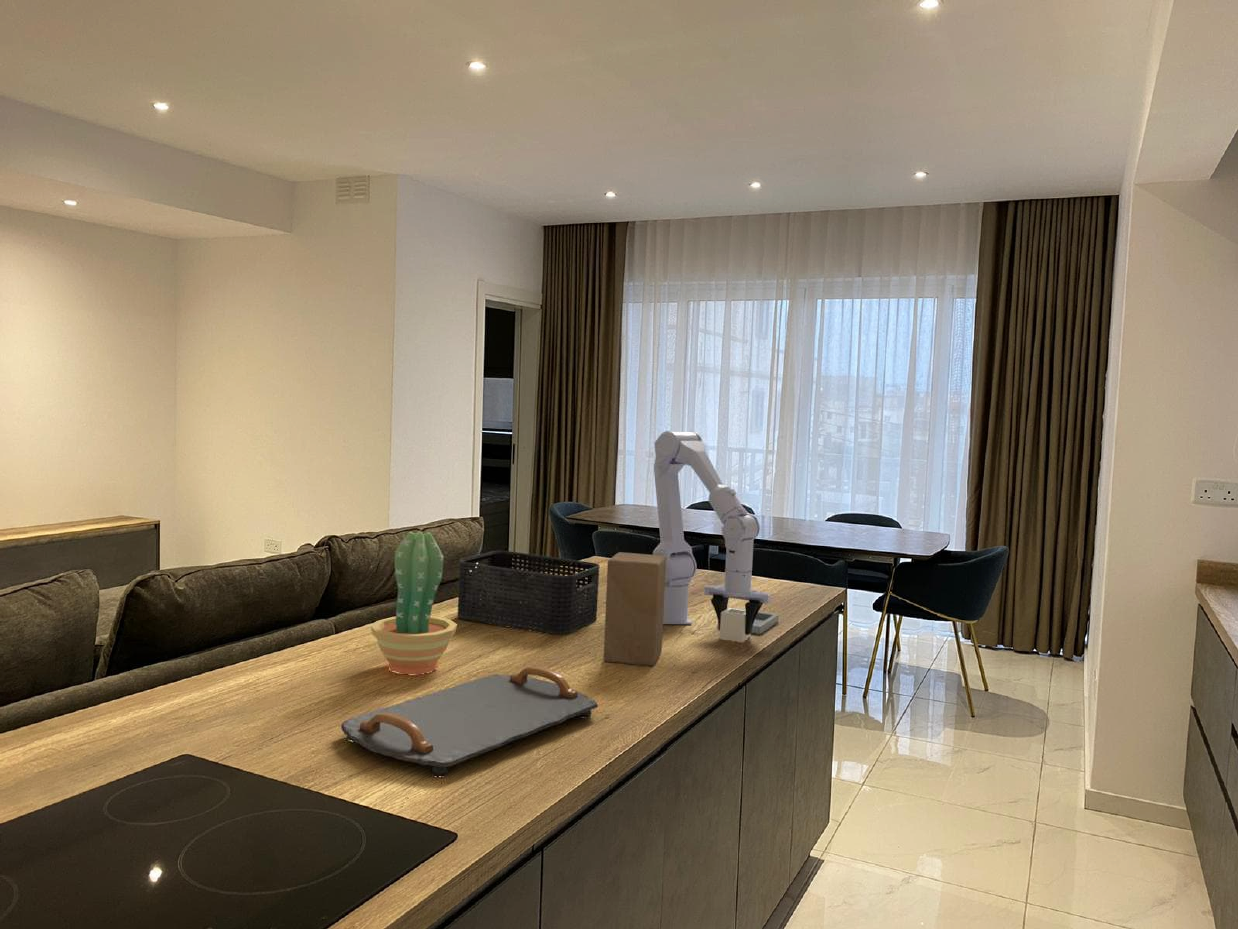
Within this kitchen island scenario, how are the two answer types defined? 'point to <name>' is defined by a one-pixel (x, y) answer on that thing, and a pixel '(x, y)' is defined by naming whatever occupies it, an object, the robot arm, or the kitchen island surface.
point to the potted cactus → (415, 609)
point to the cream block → (733, 625)
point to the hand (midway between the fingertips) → (735, 631)
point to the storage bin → (528, 592)
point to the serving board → (468, 718)
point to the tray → (763, 622)
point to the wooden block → (634, 608)
